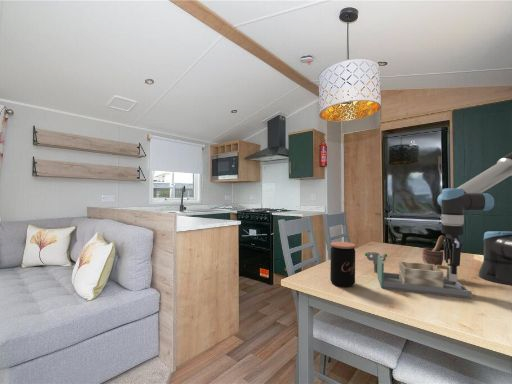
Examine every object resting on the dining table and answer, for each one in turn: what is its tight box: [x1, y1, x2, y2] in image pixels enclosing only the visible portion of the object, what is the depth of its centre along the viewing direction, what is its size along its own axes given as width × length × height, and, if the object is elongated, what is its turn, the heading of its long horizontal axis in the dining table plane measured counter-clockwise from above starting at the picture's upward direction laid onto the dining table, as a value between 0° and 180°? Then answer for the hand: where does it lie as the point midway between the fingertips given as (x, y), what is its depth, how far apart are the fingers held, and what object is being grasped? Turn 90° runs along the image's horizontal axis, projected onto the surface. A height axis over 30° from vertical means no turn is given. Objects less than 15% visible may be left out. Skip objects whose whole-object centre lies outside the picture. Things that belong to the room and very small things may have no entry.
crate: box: [398, 259, 450, 288], centre depth 112 cm, size 20×12×12 cm, turn 71°
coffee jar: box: [329, 241, 356, 288], centre depth 117 cm, size 11×11×18 cm
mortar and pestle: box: [421, 234, 446, 266], centre depth 129 cm, size 12×9×20 cm
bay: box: [377, 254, 473, 300], centre depth 113 cm, size 32×15×11 cm, turn 71°
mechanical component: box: [364, 251, 388, 274], centre depth 133 cm, size 3×10×10 cm, turn 79°
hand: (451, 279), depth 109 cm, fingers closed on crate, 2 cm apart
